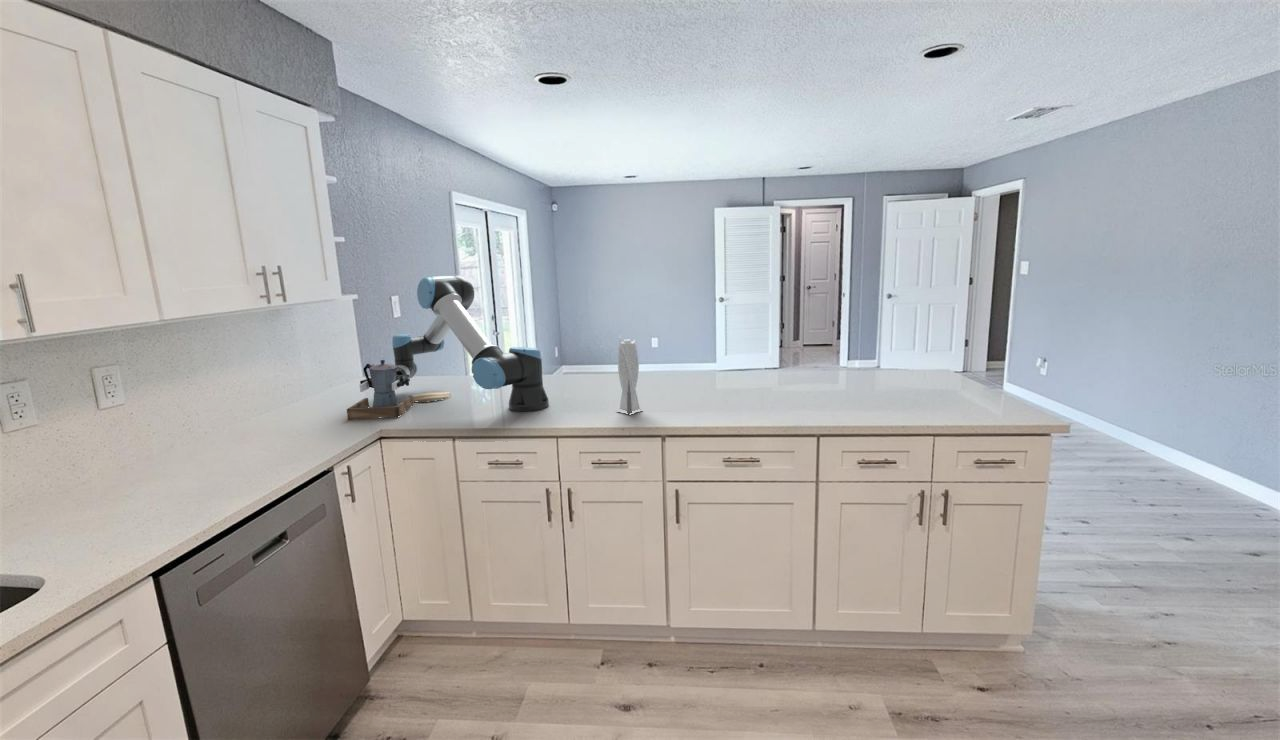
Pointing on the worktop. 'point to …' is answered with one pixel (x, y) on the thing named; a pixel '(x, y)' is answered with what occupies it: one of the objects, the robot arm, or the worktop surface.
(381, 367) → the moka pot
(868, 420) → the worktop surface
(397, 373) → the robot arm
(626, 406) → the skyscraper
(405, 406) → the frame
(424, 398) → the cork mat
